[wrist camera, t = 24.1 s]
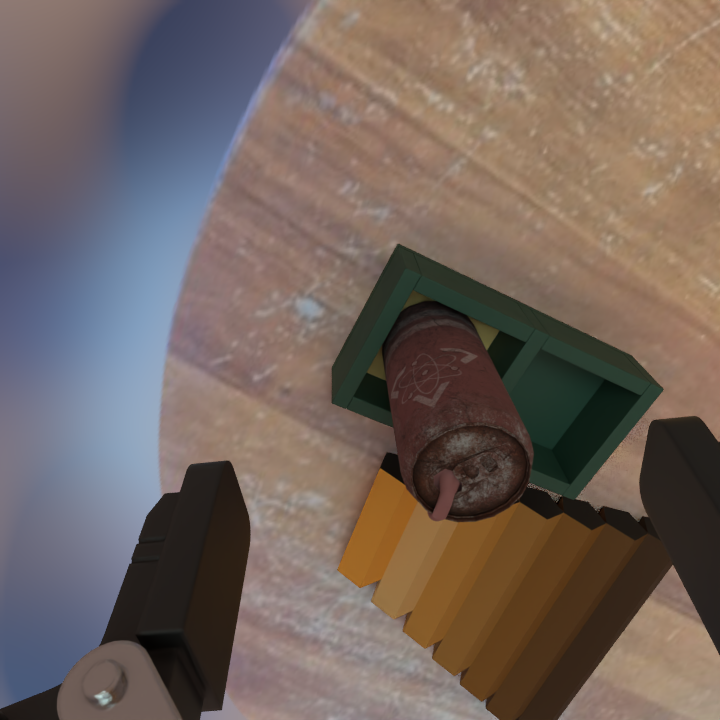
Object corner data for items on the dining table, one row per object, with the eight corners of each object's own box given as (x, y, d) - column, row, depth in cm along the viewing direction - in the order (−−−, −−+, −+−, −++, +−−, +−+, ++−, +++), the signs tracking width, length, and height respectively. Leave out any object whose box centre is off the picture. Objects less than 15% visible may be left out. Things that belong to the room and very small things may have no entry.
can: (366, 372, 41) (381, 517, 28) (400, 285, 38) (433, 403, 26) (451, 396, 42) (502, 546, 29) (490, 313, 39) (564, 440, 27)
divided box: (331, 367, 41) (331, 403, 37) (397, 243, 38) (405, 267, 33) (552, 459, 46) (574, 500, 41) (632, 355, 42) (664, 389, 38)
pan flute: (538, 715, 59) (675, 524, 49) (548, 751, 56) (697, 555, 46) (287, 670, 55) (378, 450, 44) (284, 707, 52) (381, 479, 41)
